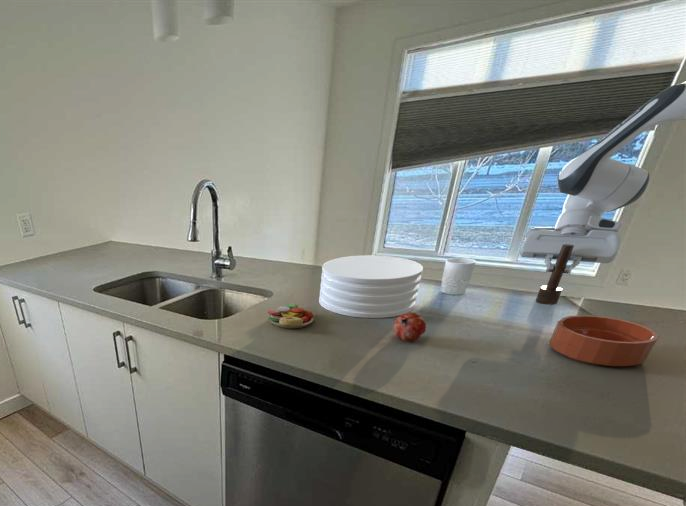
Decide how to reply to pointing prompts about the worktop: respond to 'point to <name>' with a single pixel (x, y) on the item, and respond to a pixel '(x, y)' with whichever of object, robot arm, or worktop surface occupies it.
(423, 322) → the pomegranate
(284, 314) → the toy food set
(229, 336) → the worktop surface
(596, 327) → the bowl
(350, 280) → the plate stack
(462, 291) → the white cup
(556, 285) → the muddler
